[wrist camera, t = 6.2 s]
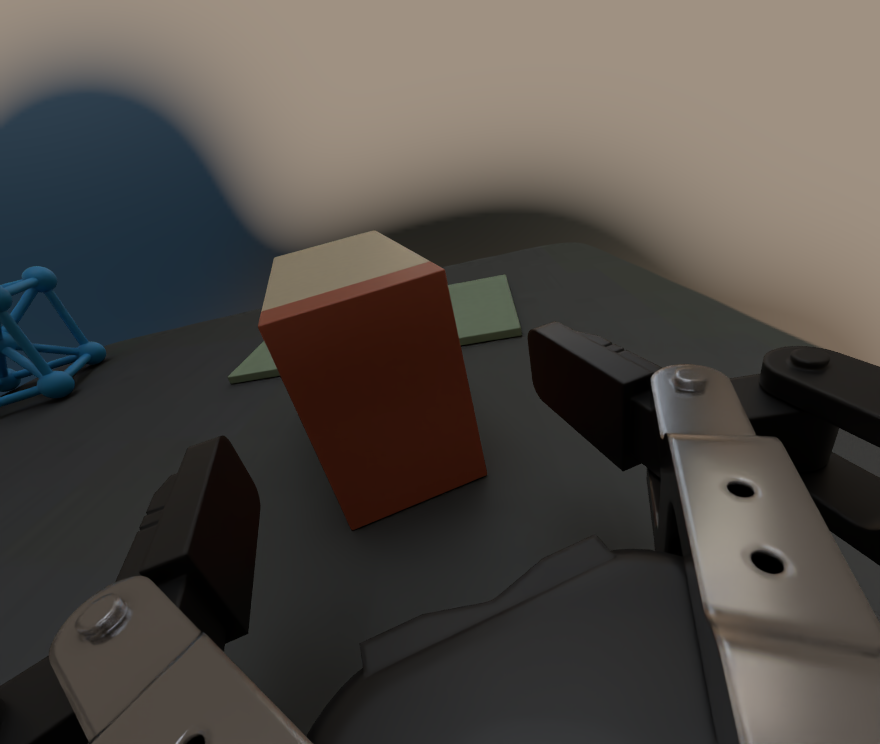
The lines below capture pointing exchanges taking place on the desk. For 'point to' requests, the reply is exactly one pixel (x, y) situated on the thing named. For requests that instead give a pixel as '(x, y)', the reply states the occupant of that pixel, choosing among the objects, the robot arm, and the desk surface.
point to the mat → (476, 314)
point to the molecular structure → (13, 338)
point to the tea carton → (374, 372)
